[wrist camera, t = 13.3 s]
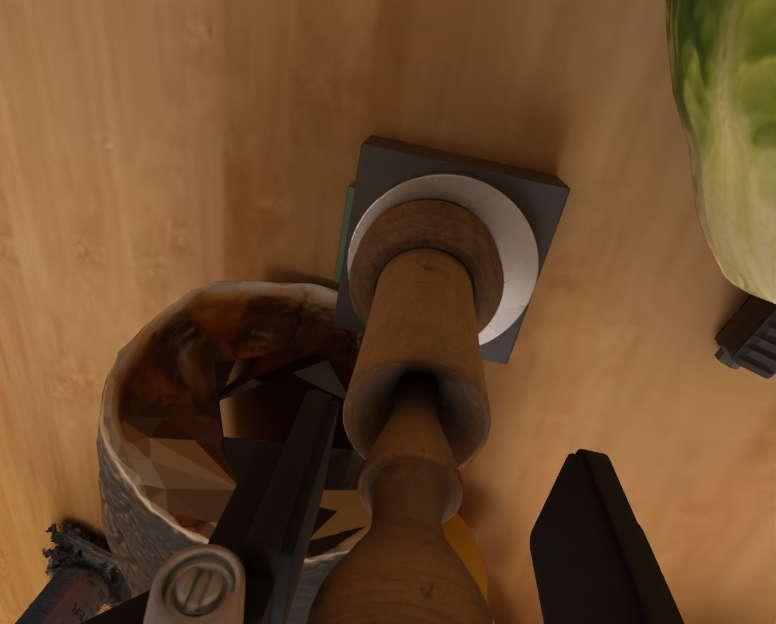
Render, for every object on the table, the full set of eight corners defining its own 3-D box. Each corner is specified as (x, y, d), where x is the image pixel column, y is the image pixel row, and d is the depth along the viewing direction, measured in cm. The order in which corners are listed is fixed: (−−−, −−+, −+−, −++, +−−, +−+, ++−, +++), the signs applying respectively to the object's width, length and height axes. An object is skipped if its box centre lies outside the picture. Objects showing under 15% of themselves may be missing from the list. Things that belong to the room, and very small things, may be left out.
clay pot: (82, 731, 29) (-21, 526, 14) (176, 493, 41) (177, 243, 26) (330, 753, 31) (477, 597, 16) (350, 521, 43) (445, 306, 28)
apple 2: (532, 661, 27) (401, 597, 24) (430, 698, 31) (311, 647, 29) (516, 513, 34) (414, 453, 32) (435, 560, 39) (341, 511, 36)
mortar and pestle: (394, 349, 25) (307, 867, 9) (330, 238, 22) (47, 657, 6) (520, 298, 23) (712, 839, 7) (464, 171, 21) (547, 526, 4)
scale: (335, 301, 28) (320, 334, 25) (362, 133, 24) (348, 143, 21) (500, 337, 28) (509, 375, 25) (557, 175, 24) (577, 193, 20)
